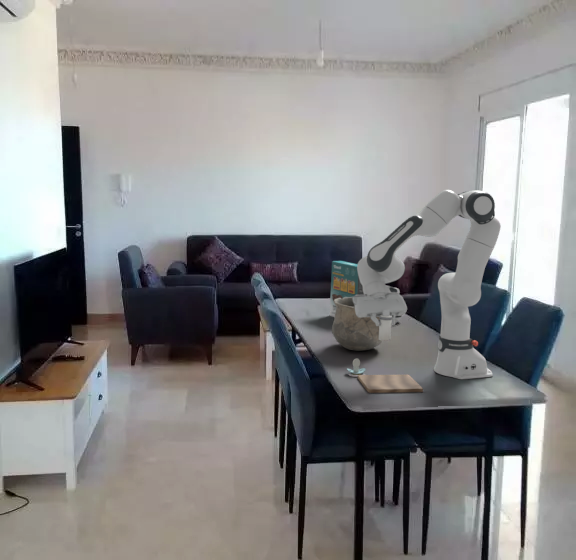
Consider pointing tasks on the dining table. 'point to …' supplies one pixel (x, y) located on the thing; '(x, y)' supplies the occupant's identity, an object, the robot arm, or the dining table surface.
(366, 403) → the dining table surface
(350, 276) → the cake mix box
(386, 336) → the white bar-topped cylinder
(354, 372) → the pacifier
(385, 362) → the dining table surface
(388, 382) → the board
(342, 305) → the pot
